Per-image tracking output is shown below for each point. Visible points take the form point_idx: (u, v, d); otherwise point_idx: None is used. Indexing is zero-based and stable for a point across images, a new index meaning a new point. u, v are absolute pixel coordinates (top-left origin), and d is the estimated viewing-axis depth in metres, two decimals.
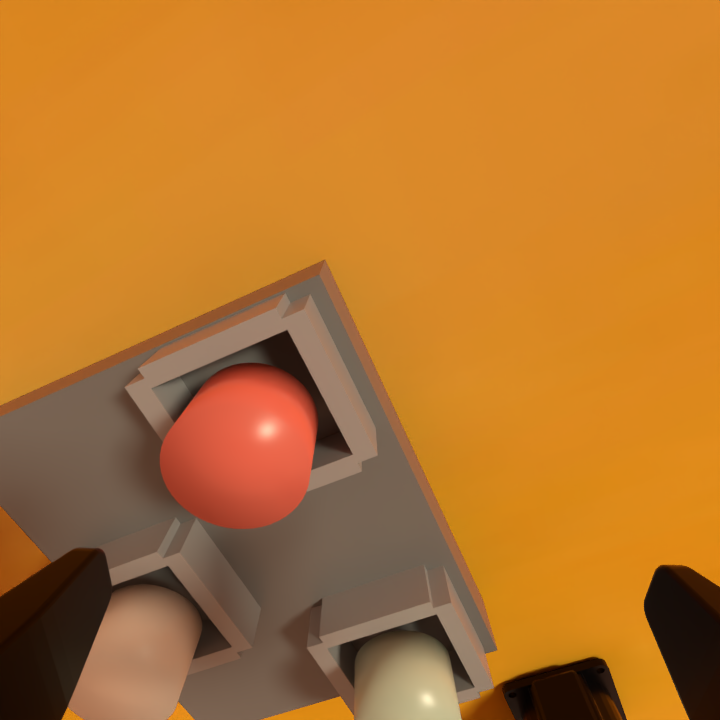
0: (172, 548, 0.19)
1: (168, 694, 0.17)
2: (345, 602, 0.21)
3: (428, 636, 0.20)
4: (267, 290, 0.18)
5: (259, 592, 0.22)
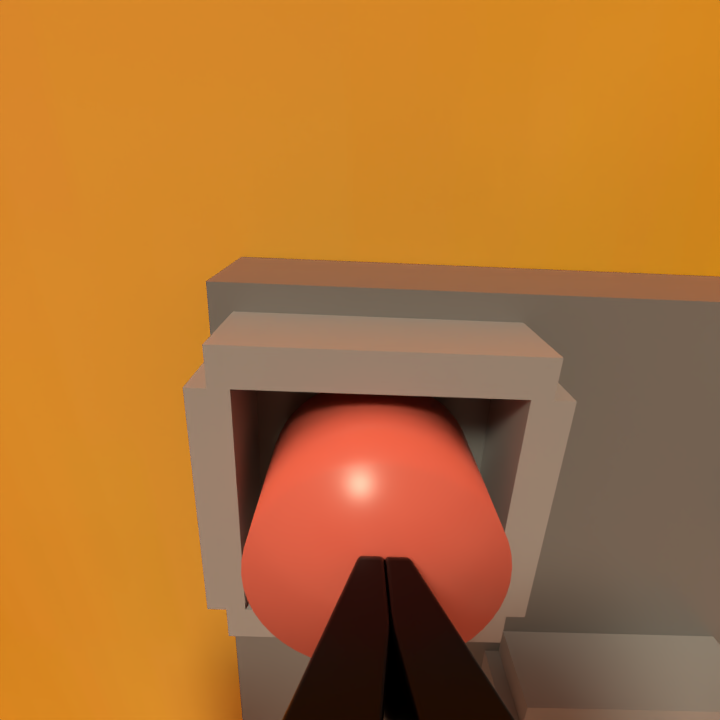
0: (517, 702, 0.12)
1: None
2: None
3: None
4: None
5: (684, 625, 0.13)
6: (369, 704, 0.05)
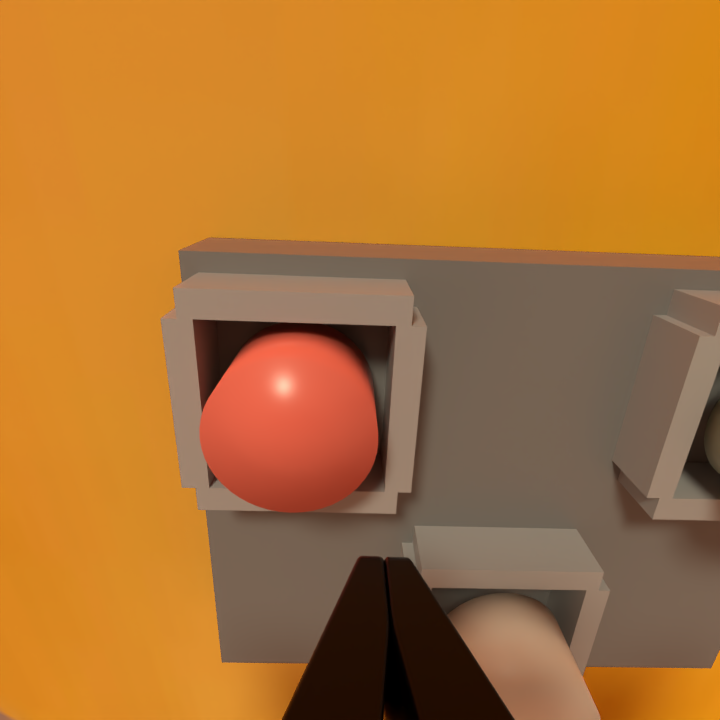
0: (418, 570, 0.15)
1: (564, 695, 0.13)
2: (632, 439, 0.15)
3: None
4: None
5: (552, 519, 0.17)
6: (369, 704, 0.05)
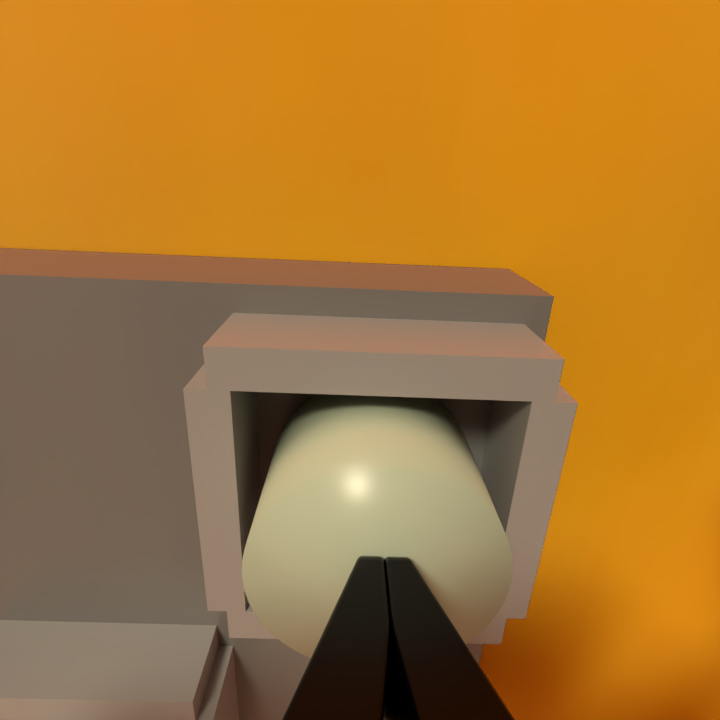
0: None
1: None
2: None
3: (313, 399, 0.10)
4: None
5: (180, 613, 0.13)
6: (369, 704, 0.05)
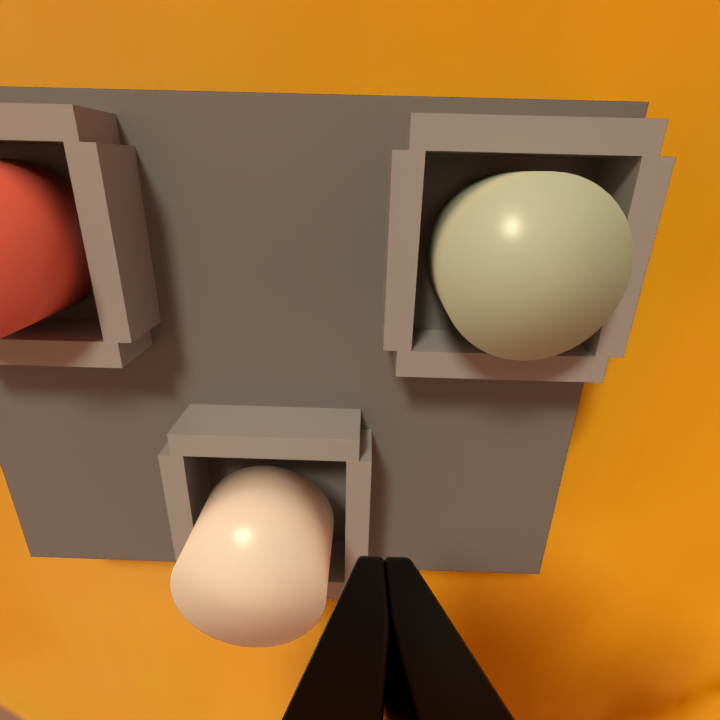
0: None
1: (274, 548, 0.12)
2: (384, 296, 0.14)
3: (463, 187, 0.13)
4: None
5: (333, 398, 0.16)
6: (369, 704, 0.05)
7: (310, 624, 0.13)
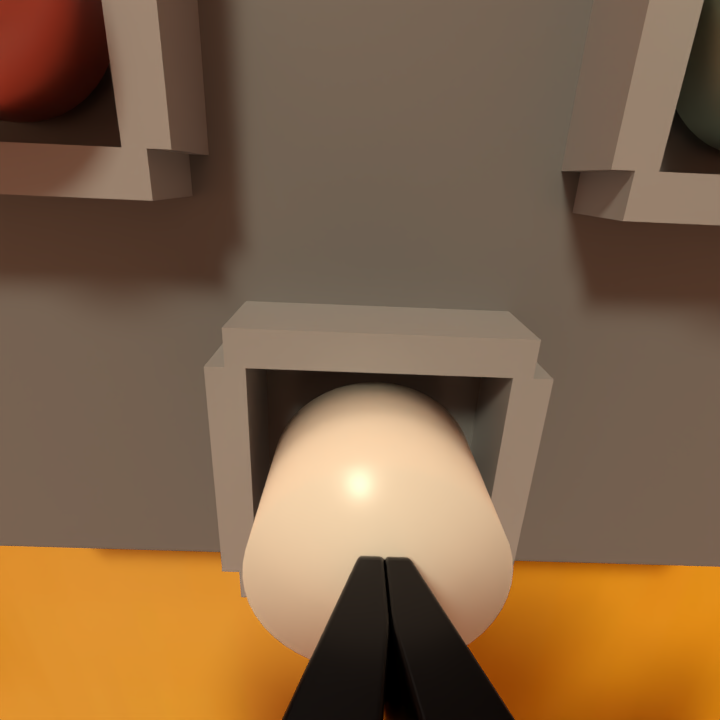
0: None
1: (438, 497, 0.07)
2: (590, 97, 0.08)
3: None
4: None
5: (469, 292, 0.10)
6: (368, 704, 0.05)
7: (474, 633, 0.08)
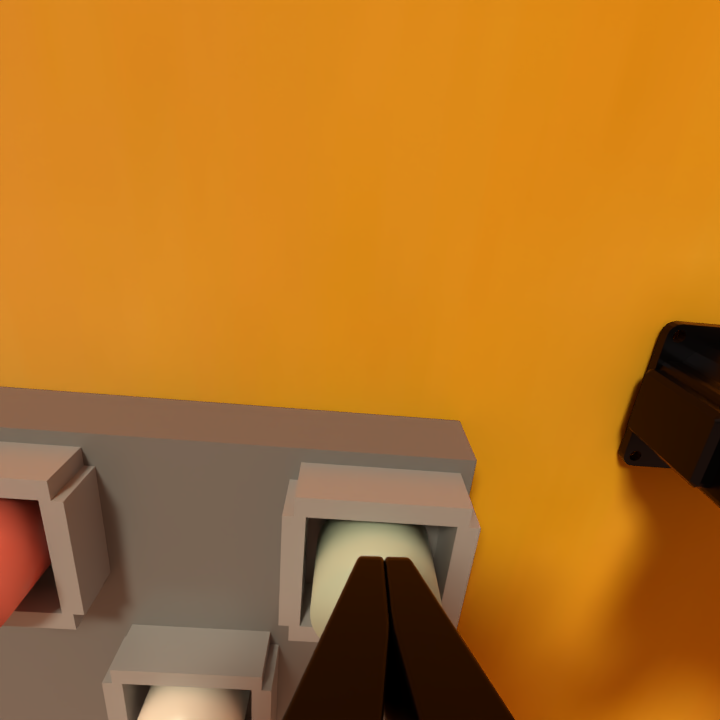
0: None
1: None
2: None
3: None
4: None
5: (248, 623, 0.20)
6: (369, 704, 0.05)
7: None
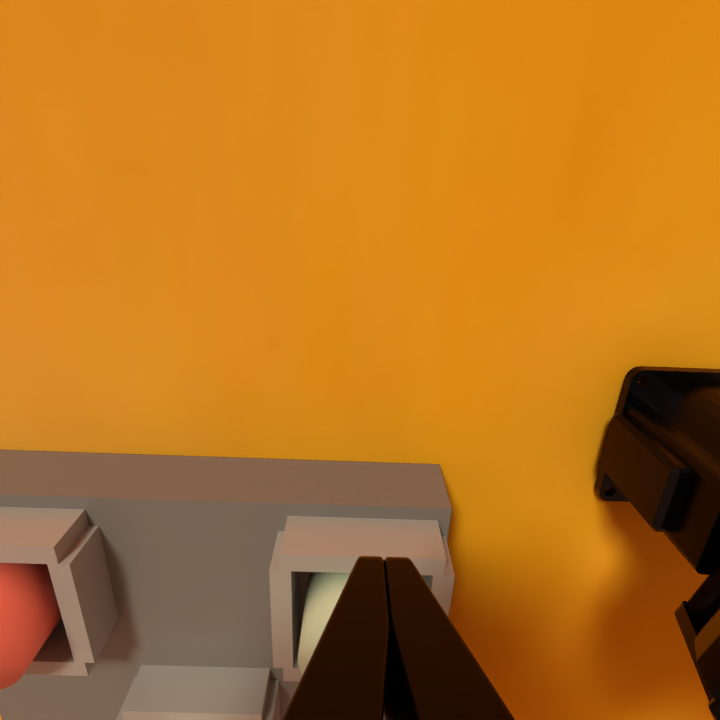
0: None
1: None
2: None
3: None
4: None
5: (249, 661, 0.21)
6: (369, 704, 0.05)
7: None
